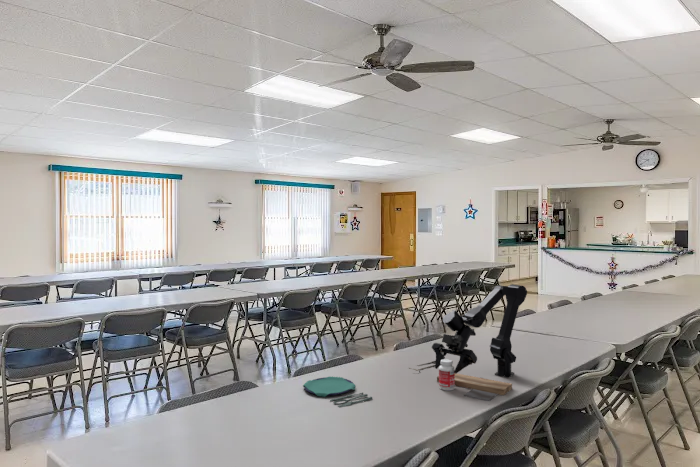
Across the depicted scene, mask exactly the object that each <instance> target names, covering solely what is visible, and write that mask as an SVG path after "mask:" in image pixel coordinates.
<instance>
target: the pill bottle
mask: <svg viewBox="0 0 700 467" xmlns="http://www.w3.org/2000/svg"><path fill="white" fill-rule="evenodd" d="M453 364H454V363H453V360H452V359H448V358H445V359H442V360H441V365H440V366H439V367H438V376H439V382H438V387H439V389H440V390H442V391H453V390H455V388H456V386H455V373H454V371H455V367H454V366H453Z"/></svg>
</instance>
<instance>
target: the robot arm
mask: <svg viewBox="0 0 700 467" xmlns="http://www.w3.org/2000/svg"><path fill="white" fill-rule="evenodd" d="M527 295H528V290H527V288H526V287H525V285H520V284H509V285H501V284H500V285H499V284H498V285H496V286H494V288H493V289H492V291H491V292H490V293H489V294H488V295H487V296H486V297H485V298H484V299H483V300H482V301H481V302H480V303H479V304H478V305H477V306H476V307H473V308H471V309H469V310H468V311H467V312H466V313H465V314H463V315H460V314H459V312H458V311H457V310H455V309H452V310H451V311H449V312H448V313H447V314H445V315H444V316H443V318H442V322H443V323H444V324H445V325H446V326H447V327H448V329H450V330H451V331H452V332H455V333H454V335H453V334H445V333H444V334H443V335H442V339H441V343H439V342H434V343H433V344H432V345H431V349H432V350H433V352H434V353H435V361H436V362H435V364H434V365H435V367H434V369H436V370H438V369H439V366H441V365H440V364H441V360H442V359H446V357H445V356H446V355H453V356H458V357H459V360H458V362H457V364H456V367H454V369H455V371H454V373H455V374H459V373H460V372H461V371H462V370H464V368H467V367H468V366H469V365H473V364H476V363H477V361H478V356H477V355H476V353H475V352H474V350H472V349H468V346H469V345H468V342H469V340H470V337H471V336H476V335H477V334H476V332H475V331H476V330H475V329H474V328H477V329H478V328H480V327H481V326H482V325H483V324H484V322H485V321H486V319H487V314H488V313H489V312H491V310H492V309H493V308H494V307H495V306H496V305H497V304H498V303H499V302H500V301H501V300H502V299H503V297H505V300H506V306H505V310H504V314H503V318H502V322H501V325H500V329H499V331H498V335H497V336H496V337H492V338H491V341H490V345H489V348H490V349H489V350H490V353H491V355H492V357H493V359H494V360H495V359H496V360H497V361H496V363H497V364H496V365H497V371H496V372H495V373H494V375H495V376H499V377H504V378H511V377H513V375H515V371H514V372H513V371H512V364H513V363H516V361H517V356H516V355H515V354H514V353H513V352H512V347H513V346H512V342H511V337H512V332H513V329H514V326H515V322H516V320H517V319H516V318H517V315H518V310H519V309H520V306H521V305H522V304H523V303H524V302H525V300H526V297H527ZM471 327H472V328H471ZM442 343H444V344H445V346H446V347H445V346H444V344H442Z"/></svg>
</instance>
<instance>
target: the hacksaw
mask: <svg viewBox="0 0 700 467" xmlns="http://www.w3.org/2000/svg"><path fill="white" fill-rule="evenodd" d="M435 362H436V360H433V361H431V362H426V363H422V364H419V365H418V364H417V365H416V367H422V366H425V367H422V368H420V369H416V368H413V370H415V372H416V371H417V372H419V373H415V372H413V374H415V375H416V374H417V375H418V374H420V373H421V371H423V370H425V369H431V368H435ZM431 364H432V365H431ZM426 365H430V366H426ZM440 366H441V364H440ZM408 369H410V370H412V368H411V367H408Z"/></svg>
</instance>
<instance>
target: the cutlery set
mask: <svg viewBox="0 0 700 467" xmlns="http://www.w3.org/2000/svg"><path fill="white" fill-rule="evenodd" d="M302 387H303V388H304V390H305V391H306V392H308V393H310V394H314V395H316V396H317V397H325V398H326V397H327V396H336V395H337V396H338V395H342V394H345V393H349V392H350V391H351V390H353V391H355V390H356V384H355V383H354V382H353V381H352V380H350V379H347V378H344V377H340V376H326V377H318V378H315V379H312V380H307V381H306V382H305V383H304V384H303V385H302ZM354 396H355V397H354ZM368 396H369V395H368V394H367V393H365V394H364V392H359V393H354V394H348V395H347V394H346V396H341V397H336V398H332V399H330V400H329V402H333V404H334V405H337V408H343V407H349V406H352V405H353V404H358V403H362V402H363V401H364V402H366V401H370V400H371V401H372V400H373V396H369V397H368ZM359 398H363V399H359ZM356 399H359V400H356ZM353 400H355V401H353ZM339 402H340V403H339ZM364 402H363V403H364Z"/></svg>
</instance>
